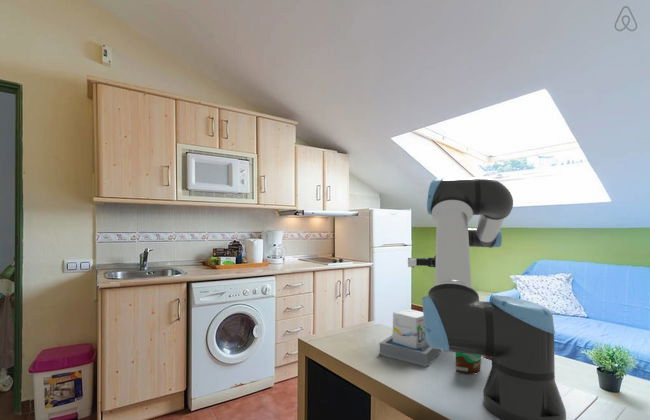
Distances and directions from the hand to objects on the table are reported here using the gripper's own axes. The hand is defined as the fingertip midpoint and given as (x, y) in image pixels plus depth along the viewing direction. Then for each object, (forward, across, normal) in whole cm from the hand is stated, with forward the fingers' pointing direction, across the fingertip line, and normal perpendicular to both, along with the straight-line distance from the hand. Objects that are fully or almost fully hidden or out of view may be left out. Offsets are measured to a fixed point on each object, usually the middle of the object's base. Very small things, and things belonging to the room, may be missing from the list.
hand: (428, 264), depth 111 cm
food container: (+11, -16, -28) cm, 33 cm away
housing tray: (+10, +2, -27) cm, 29 cm away
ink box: (+10, +2, -26) cm, 28 cm away
